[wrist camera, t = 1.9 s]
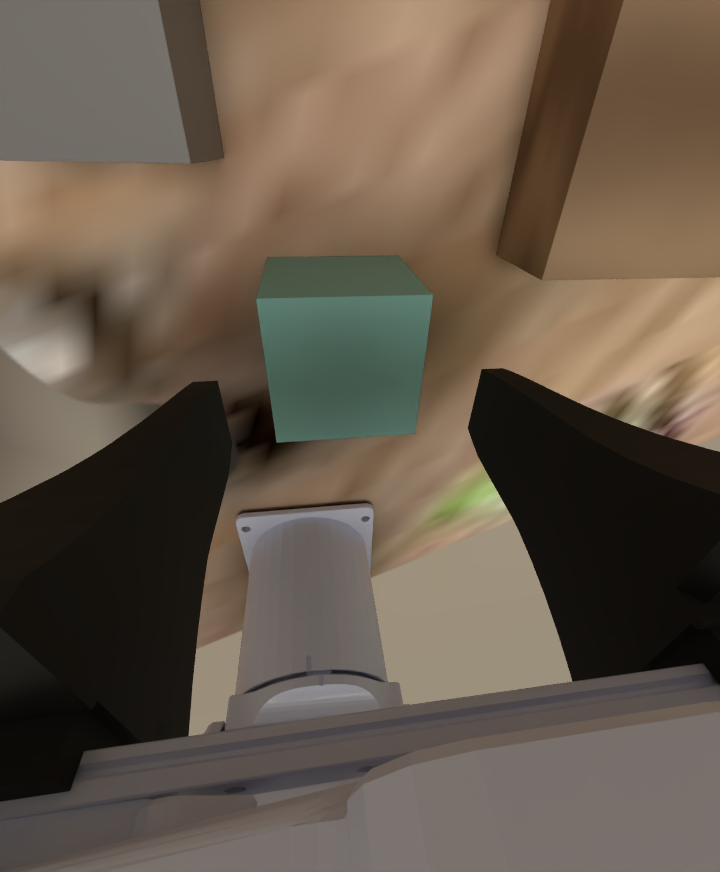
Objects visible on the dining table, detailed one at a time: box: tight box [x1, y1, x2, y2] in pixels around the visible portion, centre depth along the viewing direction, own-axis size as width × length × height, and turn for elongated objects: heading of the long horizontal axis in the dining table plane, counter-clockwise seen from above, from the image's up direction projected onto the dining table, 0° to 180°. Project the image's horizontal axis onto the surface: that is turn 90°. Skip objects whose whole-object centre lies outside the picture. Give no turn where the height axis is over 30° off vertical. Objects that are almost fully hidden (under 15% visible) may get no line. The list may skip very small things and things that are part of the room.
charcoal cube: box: [0, 0, 224, 164], centre depth 9 cm, size 5×5×5 cm
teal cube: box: [256, 256, 433, 442], centre depth 14 cm, size 5×5×5 cm
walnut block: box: [496, 0, 720, 280], centre depth 12 cm, size 9×9×4 cm
